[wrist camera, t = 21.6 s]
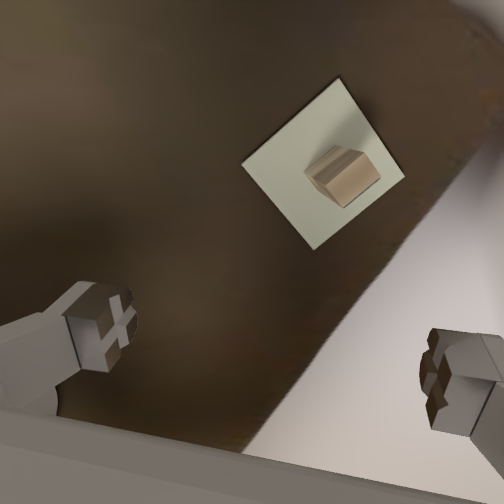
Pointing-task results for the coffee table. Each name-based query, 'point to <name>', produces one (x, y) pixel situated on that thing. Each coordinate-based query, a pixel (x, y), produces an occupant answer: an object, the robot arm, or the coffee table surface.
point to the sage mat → (308, 152)
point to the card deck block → (342, 174)
